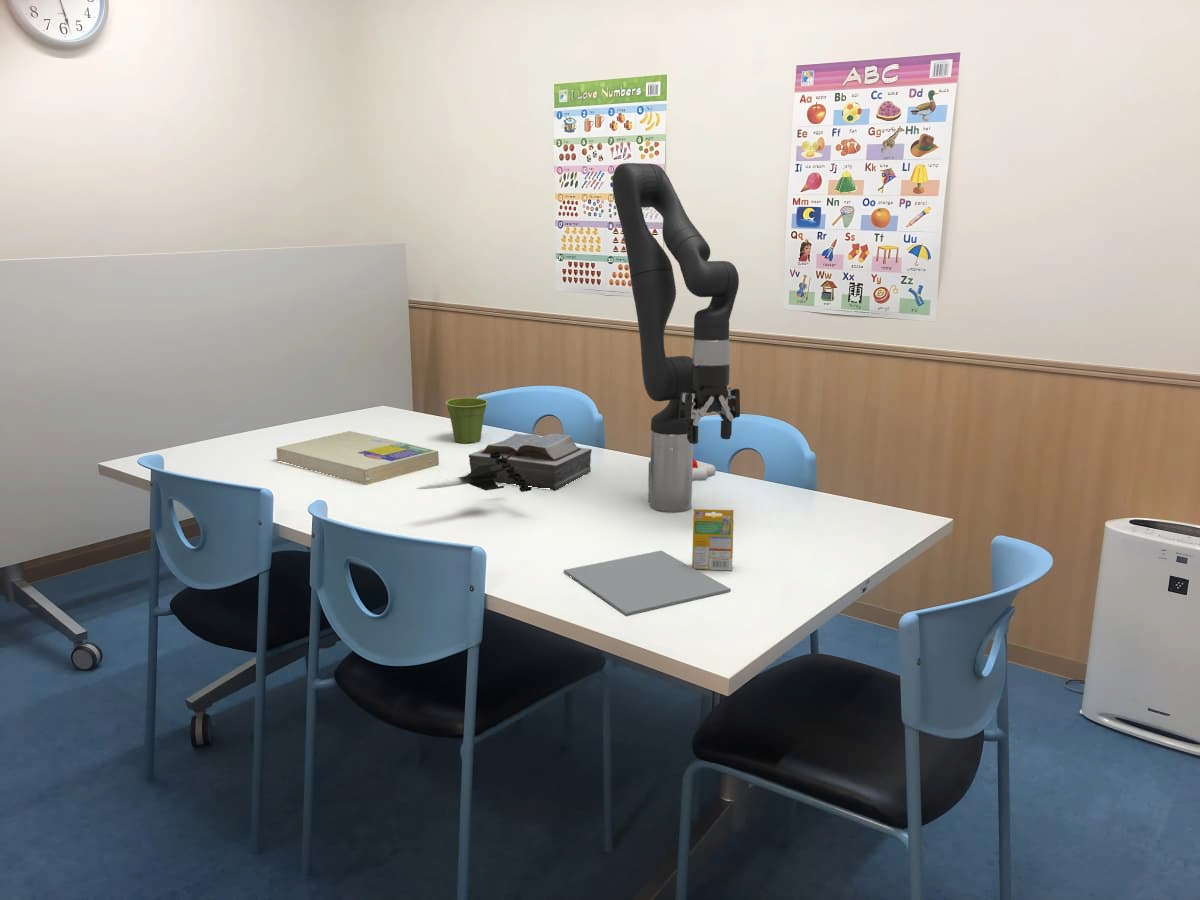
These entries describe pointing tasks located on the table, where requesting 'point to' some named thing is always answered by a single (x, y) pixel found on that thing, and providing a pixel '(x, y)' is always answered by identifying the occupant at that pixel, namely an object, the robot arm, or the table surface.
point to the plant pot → (467, 418)
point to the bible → (537, 459)
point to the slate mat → (646, 582)
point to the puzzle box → (358, 457)
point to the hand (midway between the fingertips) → (709, 441)
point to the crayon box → (712, 540)
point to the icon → (702, 470)
